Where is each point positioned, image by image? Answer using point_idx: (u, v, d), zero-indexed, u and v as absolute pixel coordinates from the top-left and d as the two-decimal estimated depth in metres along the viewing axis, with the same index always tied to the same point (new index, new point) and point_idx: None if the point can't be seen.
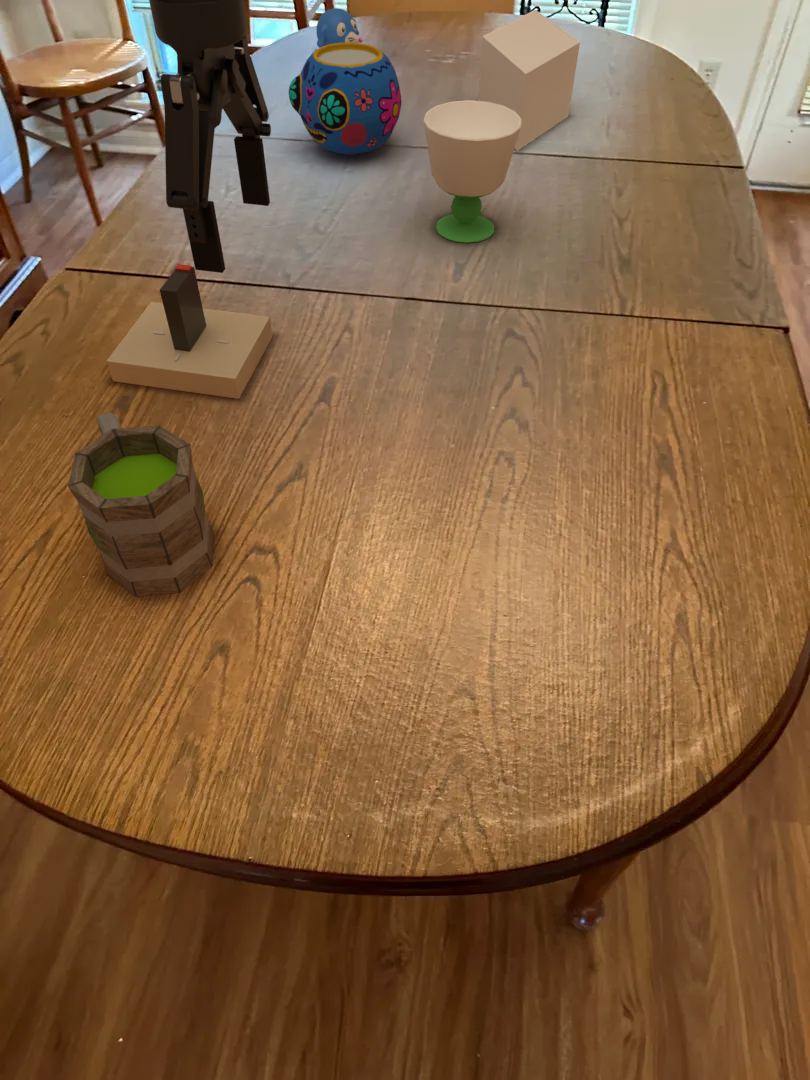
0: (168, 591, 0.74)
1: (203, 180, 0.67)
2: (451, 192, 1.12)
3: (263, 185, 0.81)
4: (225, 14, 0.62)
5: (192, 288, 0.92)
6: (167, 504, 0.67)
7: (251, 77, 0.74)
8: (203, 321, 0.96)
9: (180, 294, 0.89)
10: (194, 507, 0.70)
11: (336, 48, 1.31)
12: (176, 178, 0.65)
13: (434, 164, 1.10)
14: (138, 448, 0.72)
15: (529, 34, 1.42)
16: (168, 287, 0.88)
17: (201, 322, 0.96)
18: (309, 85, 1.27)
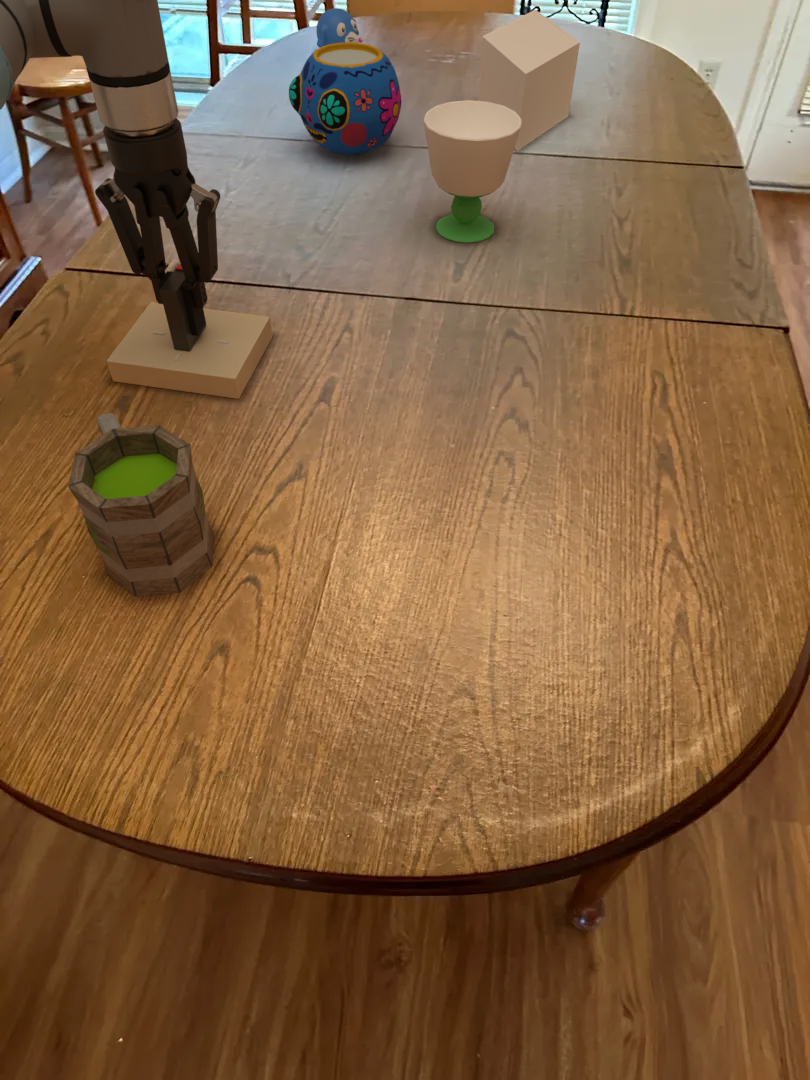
0: (168, 591, 0.74)
1: None
2: (451, 192, 1.12)
3: None
4: None
5: None
6: (167, 504, 0.67)
7: (132, 216, 0.86)
8: None
9: (180, 294, 0.89)
10: (194, 507, 0.70)
11: (336, 48, 1.31)
12: (212, 261, 0.87)
13: (434, 164, 1.10)
14: (138, 448, 0.72)
15: (529, 34, 1.42)
16: (168, 287, 0.88)
17: None
18: (309, 85, 1.27)
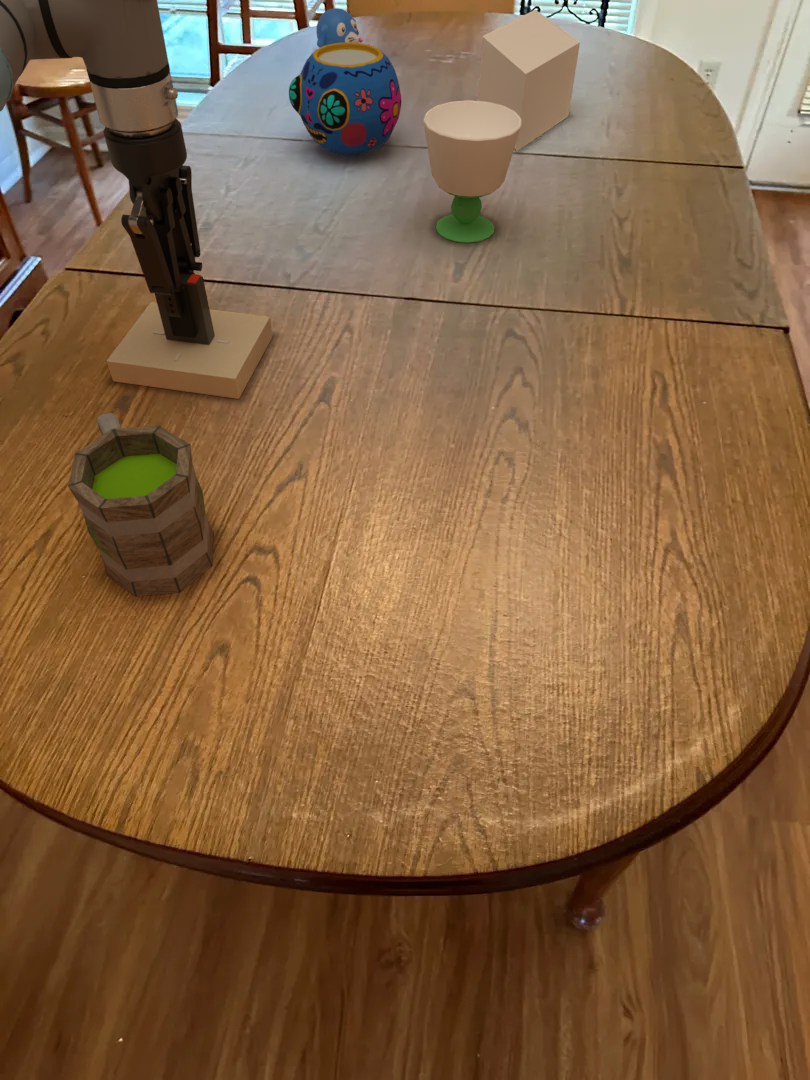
0: (168, 591, 0.74)
1: (174, 275, 0.86)
2: (451, 192, 1.12)
3: None
4: (166, 149, 0.76)
5: None
6: (167, 504, 0.67)
7: (190, 208, 0.88)
8: (203, 337, 0.94)
9: None
10: (194, 507, 0.70)
11: (336, 48, 1.31)
12: (152, 278, 0.84)
13: (434, 164, 1.10)
14: (138, 448, 0.72)
15: (529, 34, 1.42)
16: None
17: (198, 335, 0.94)
18: (309, 85, 1.27)
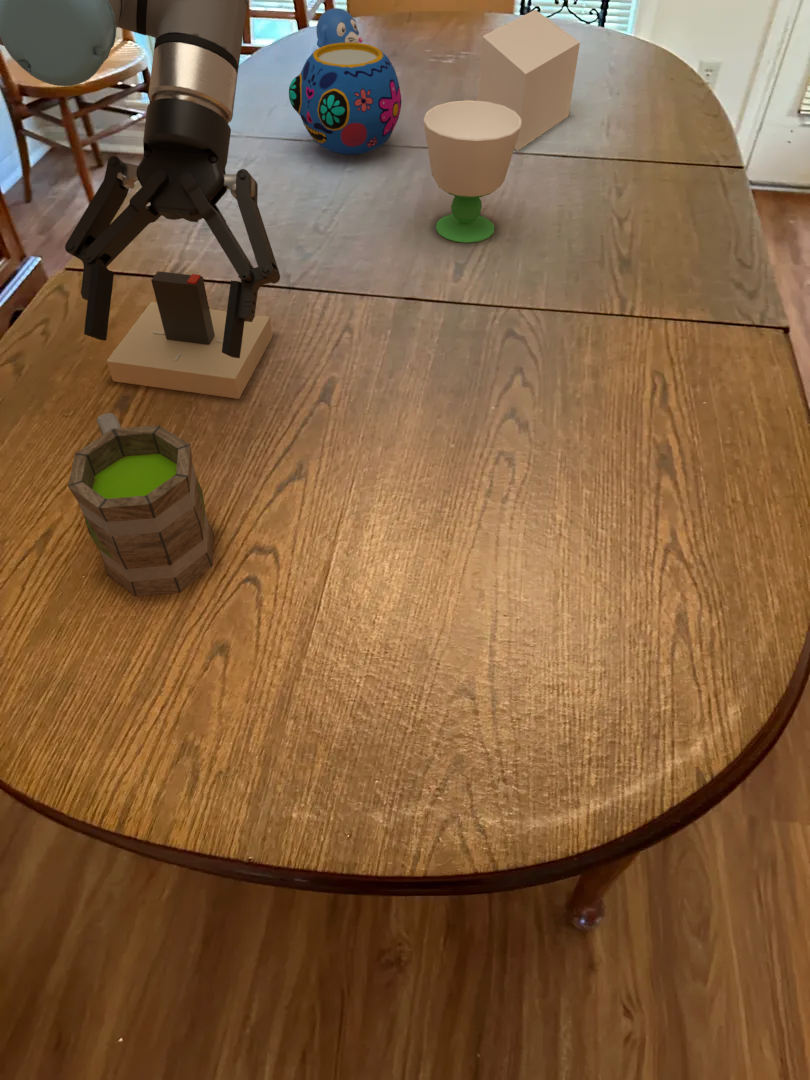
0: (168, 591, 0.74)
1: (251, 264, 0.73)
2: (451, 192, 1.12)
3: (107, 318, 0.76)
4: None
5: (186, 298, 0.90)
6: (167, 504, 0.67)
7: (116, 212, 0.75)
8: (203, 337, 0.94)
9: (159, 287, 0.90)
10: (194, 507, 0.70)
11: (336, 48, 1.31)
12: (269, 252, 0.72)
13: (434, 164, 1.10)
14: (138, 448, 0.72)
15: (529, 34, 1.42)
16: (160, 275, 0.90)
17: (198, 335, 0.94)
18: (309, 85, 1.27)
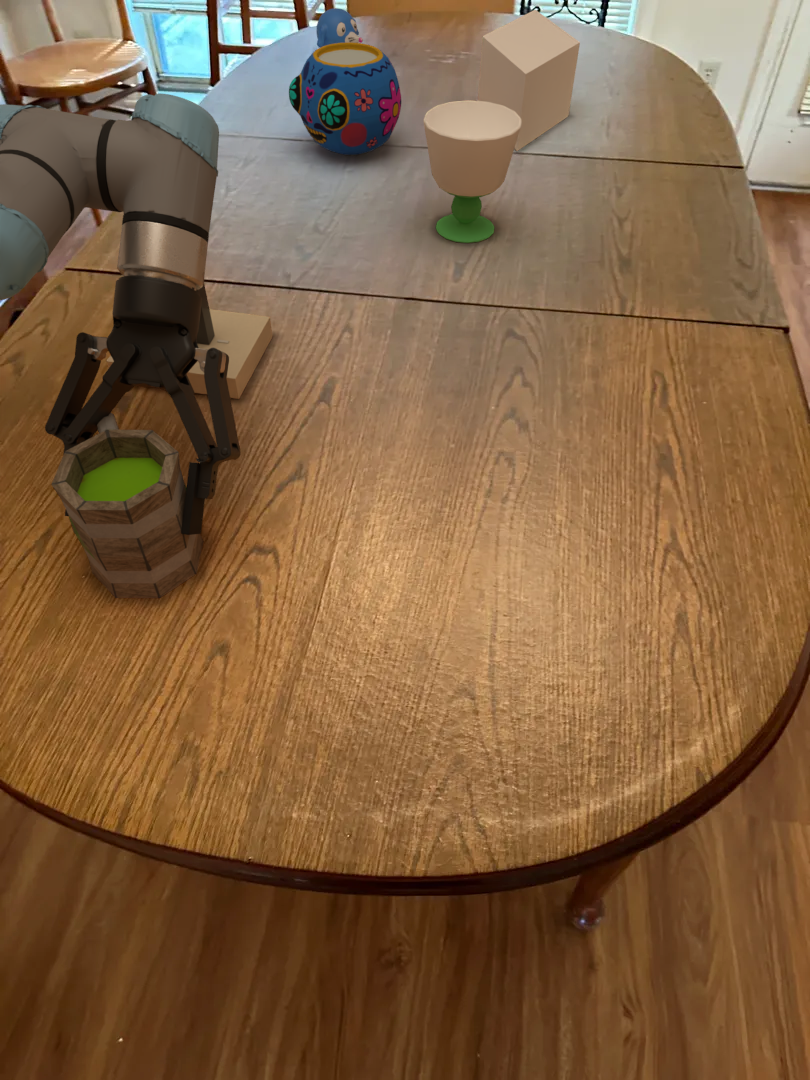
0: (148, 596, 0.73)
1: None
2: (451, 192, 1.12)
3: None
4: None
5: None
6: (146, 511, 0.66)
7: (91, 384, 0.74)
8: (203, 337, 0.94)
9: None
10: (177, 515, 0.70)
11: (336, 48, 1.31)
12: (231, 432, 0.71)
13: (434, 164, 1.10)
14: (130, 450, 0.72)
15: (529, 34, 1.42)
16: None
17: (198, 335, 0.94)
18: (309, 85, 1.27)
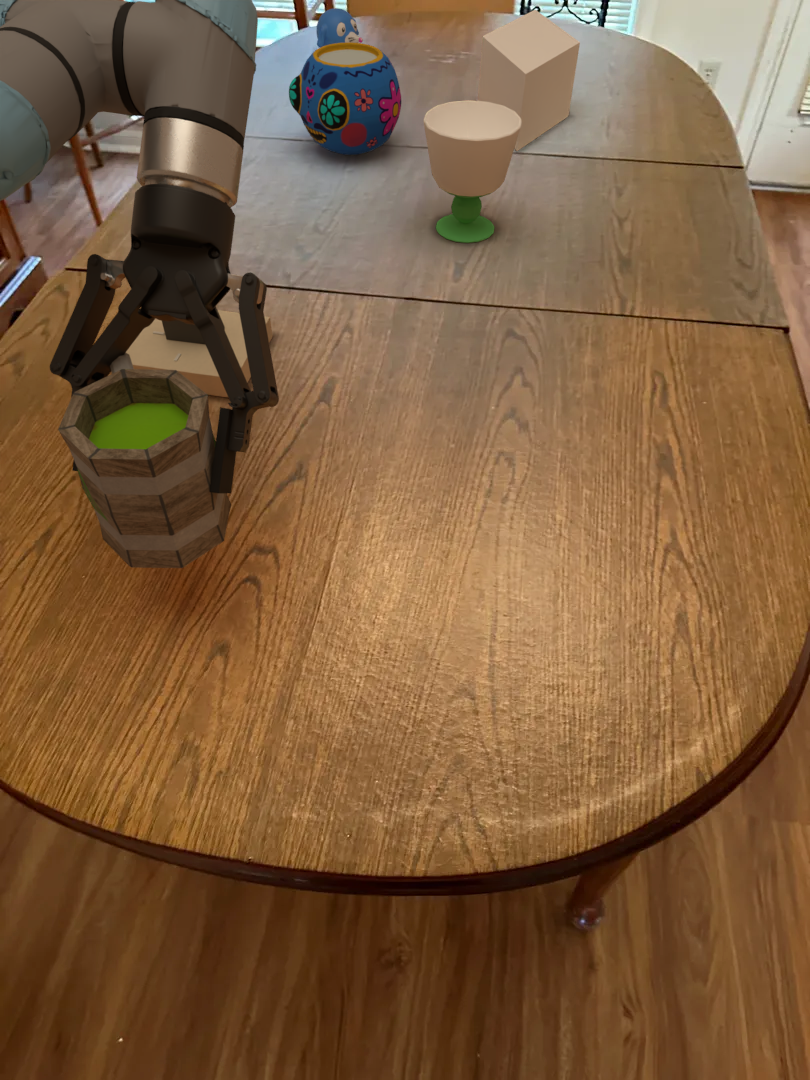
0: (168, 565, 0.63)
1: (247, 384, 0.62)
2: (451, 192, 1.12)
3: None
4: None
5: None
6: (171, 462, 0.56)
7: (104, 317, 0.63)
8: None
9: None
10: (205, 470, 0.59)
11: (336, 48, 1.31)
12: (269, 373, 0.60)
13: (434, 164, 1.10)
14: (149, 394, 0.61)
15: (529, 34, 1.42)
16: None
17: (198, 335, 0.94)
18: (309, 85, 1.27)
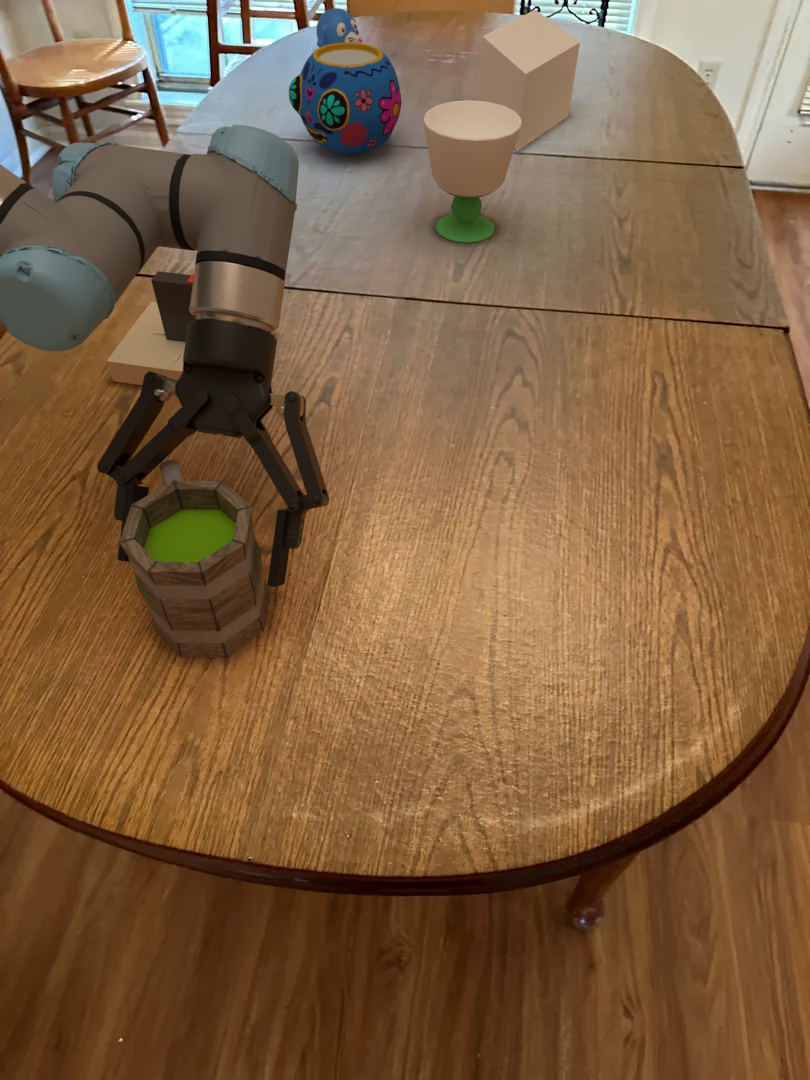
0: (214, 655, 0.69)
1: (298, 485, 0.68)
2: (451, 192, 1.12)
3: None
4: None
5: (186, 298, 0.90)
6: (220, 571, 0.62)
7: (151, 423, 0.69)
8: None
9: (159, 287, 0.90)
10: (249, 573, 0.65)
11: (336, 48, 1.31)
12: (319, 478, 0.66)
13: (434, 164, 1.10)
14: (198, 502, 0.67)
15: (529, 34, 1.42)
16: (160, 275, 0.90)
17: None
18: (309, 85, 1.27)
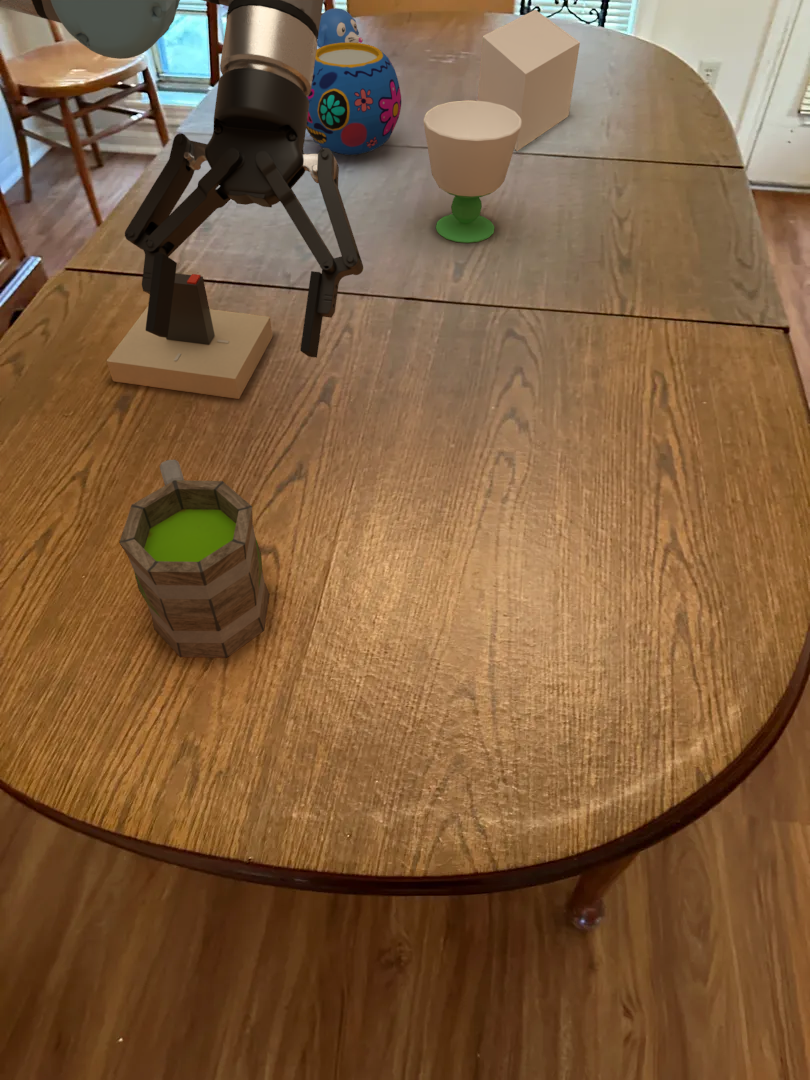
0: (214, 655, 0.69)
1: (331, 254, 0.66)
2: (451, 192, 1.12)
3: (169, 313, 0.69)
4: None
5: (186, 298, 0.90)
6: (220, 571, 0.62)
7: (179, 196, 0.68)
8: (203, 337, 0.94)
9: None
10: (249, 573, 0.65)
11: (336, 48, 1.31)
12: (353, 240, 0.65)
13: (434, 164, 1.10)
14: (198, 502, 0.67)
15: (529, 34, 1.42)
16: None
17: (198, 335, 0.94)
18: None
